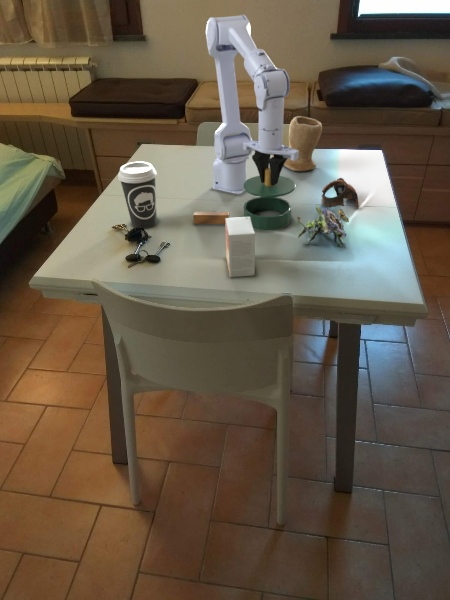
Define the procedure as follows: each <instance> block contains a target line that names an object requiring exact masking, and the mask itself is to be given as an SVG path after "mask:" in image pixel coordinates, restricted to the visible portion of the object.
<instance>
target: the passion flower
mask: <svg viewBox="0 0 450 600" xmlns="http://www.w3.org/2000/svg"><path fill="white" fill-rule="evenodd" d="M315 210H316V211H317V213H318V217H317V219H314V220H312V222H311V221H308V222H307V223H306V225H304V223H302V222H301V217H300V216H297V217H296V223H297V224H300V225H301V226H303V230H302V231H301V232H300V233H299V234H298V237H297V238H298V239H300V238H301V237H302V236H303V235H304V234H305V233H308V236H307V241H306V243H305V245H306V246H307V245H308V244H309V243H310V242H312V241H314V240H315V238H316V236H317V235H318V234H319V233H320V232H321V234H322V235H324V234H325V235H331V234H333V239H334V244H335V245H336V247H338V248H342V246H344V245H345V242H344V241H343V240H344V239H345V238H346V236H347V233H346V232H345V231H344V230H345V229H344V224H343V222H345V223H350V220H349V218H348V217H347V216H346V215H347V214H346V213H344V210H343V209H342V208H339V209H338V216H337V215H336V213H334V211H332V210H331V209H329V207H326V208H325V207H324V208H322V209H321V207H319V204H317V205H316V206H315ZM341 220H342V221H343V222H341ZM311 231H313V233H312V232H311Z"/></svg>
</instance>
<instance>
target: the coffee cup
mask: <svg viewBox="0 0 450 600" xmlns="http://www.w3.org/2000/svg"><path fill="white" fill-rule="evenodd" d="M157 176H158V173H157V171H156V169H155V167H154V166H153V164H151V162H147V161H133V162H128V163H125V164H123V165H121V166H120V168H119V171H118V174H117V179H118V181H120V184H121V187H122V191H123V195H124V199H125V202H126V207H127V211H128V215H129V219H130V223H131V226H132V227H134V228H135V229H148V228H149V229H150V228H151V227H154V226H155V225H156V224H157V223H158V222H157V221H158V218H157V217H158V215H157V194H156V177H157ZM139 227H140V228H139Z"/></svg>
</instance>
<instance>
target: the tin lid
mask: <svg viewBox="0 0 450 600" xmlns="http://www.w3.org/2000/svg"><path fill="white" fill-rule="evenodd" d="M243 187H244V192H246V193H248V194H250V195H251V196H255V197H278V198H280V197H284V196H287V195H290V194H291V193H293V192H294V191H295V189H296V182H295V181H294V180H293V179H291V178H289V177H286V176H284V175H280V176H279V179H278V183H277V184H275V185H271V170H270V167H269V168H266V169H265V182H264V183H261V179H260V175H256V176H251V177H250V178H248V179H247V180H246V181H245V182H244V185H243Z"/></svg>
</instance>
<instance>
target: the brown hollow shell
mask: <svg viewBox="0 0 450 600" xmlns="http://www.w3.org/2000/svg"><path fill="white" fill-rule="evenodd" d="M332 188H333V190H334V192H335V194H336V195H335V196H333V197H329V196H328V197H327V196H326V194H327V192H328V191H330V189H332ZM321 192H322V194H321V199H320V200H321V201H320V202H321V206H323V207H326V208H332V207H333V208H334V207H338V206H341V207H345V202H344V201H345V199H346V200H347V201H350V202H353V203H355V205H356V210H359V208H360V206H359V197H358V193H357V190H356V189H355V187H354V186H353V185H351V184H350V183H347V181H346V180H345V179H344V178H342V177H339V178H337V179H335V180H333V181H331V182H329V183H327V184H326V185H325V186H324V187H323V188H322V190H321Z"/></svg>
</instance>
